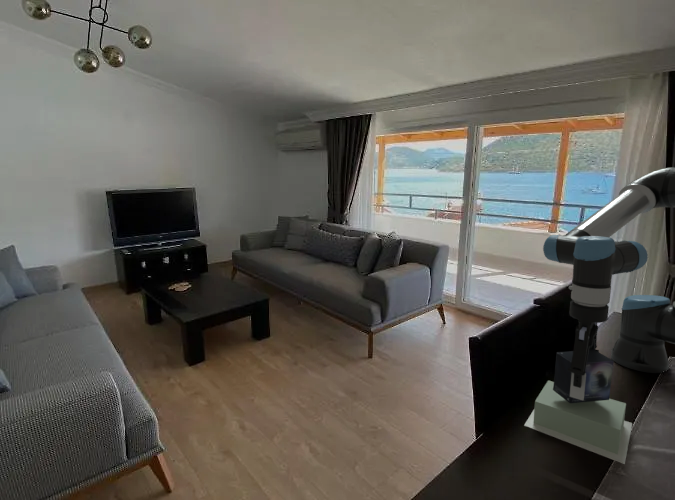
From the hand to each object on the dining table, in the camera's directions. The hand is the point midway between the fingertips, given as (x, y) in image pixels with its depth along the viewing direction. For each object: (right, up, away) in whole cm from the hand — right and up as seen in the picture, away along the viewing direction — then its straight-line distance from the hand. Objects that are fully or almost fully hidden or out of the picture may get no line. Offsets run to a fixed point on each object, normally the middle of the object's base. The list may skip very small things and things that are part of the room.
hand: (581, 387), depth 89 cm
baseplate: (0, -11, +2) cm, 11 cm away
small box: (0, -2, 0) cm, 2 cm away
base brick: (0, -10, +2) cm, 10 cm away
